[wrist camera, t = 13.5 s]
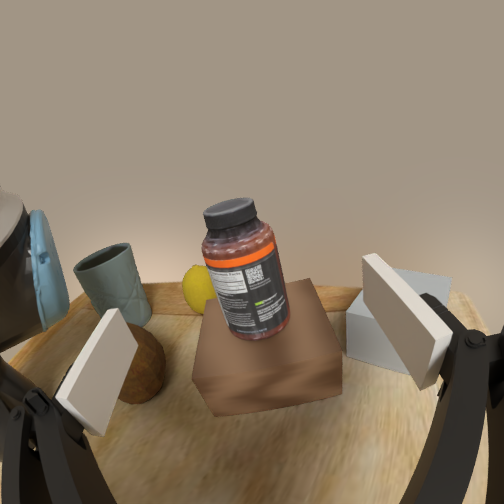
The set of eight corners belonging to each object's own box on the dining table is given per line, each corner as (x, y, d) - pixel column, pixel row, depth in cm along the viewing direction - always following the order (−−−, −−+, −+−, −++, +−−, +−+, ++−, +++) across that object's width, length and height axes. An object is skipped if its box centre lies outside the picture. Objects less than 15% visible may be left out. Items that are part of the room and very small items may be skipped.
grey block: (346, 356, 25) (345, 311, 23) (377, 307, 31) (378, 265, 29) (425, 379, 19) (439, 333, 17) (443, 321, 25) (451, 277, 23)
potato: (159, 341, 35) (133, 288, 31) (191, 395, 25) (156, 334, 22) (108, 365, 31) (76, 315, 28) (124, 427, 21) (76, 371, 18)
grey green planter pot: (99, 343, 36) (63, 278, 32) (111, 310, 45) (85, 253, 41) (154, 330, 37) (121, 258, 33) (159, 297, 47) (135, 236, 42)
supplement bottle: (255, 298, 29) (229, 194, 24) (303, 311, 25) (282, 191, 21) (216, 331, 25) (176, 217, 21) (264, 352, 21) (228, 218, 17)
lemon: (186, 322, 38) (166, 274, 35) (207, 301, 42) (191, 255, 39) (216, 328, 35) (198, 277, 32) (236, 304, 40) (222, 256, 36)
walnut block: (214, 416, 22) (191, 378, 20) (220, 338, 33) (206, 299, 31) (341, 393, 21) (342, 350, 19) (315, 319, 32) (309, 277, 30)
